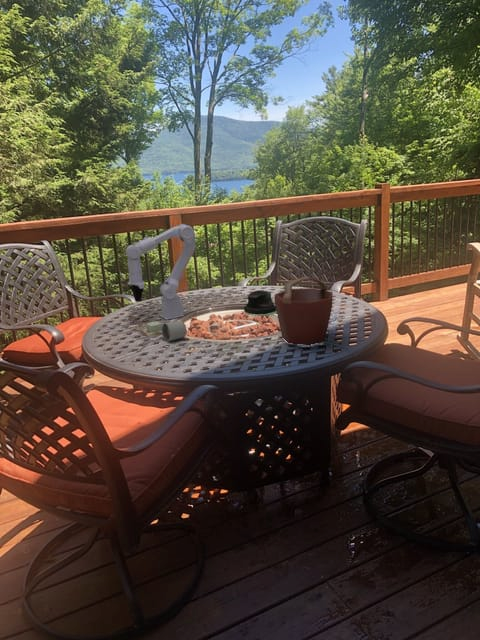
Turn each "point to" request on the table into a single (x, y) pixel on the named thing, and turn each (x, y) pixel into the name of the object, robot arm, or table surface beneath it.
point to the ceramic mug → (173, 330)
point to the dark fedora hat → (260, 304)
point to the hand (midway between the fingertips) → (138, 301)
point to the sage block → (154, 327)
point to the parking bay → (149, 333)
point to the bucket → (304, 312)
